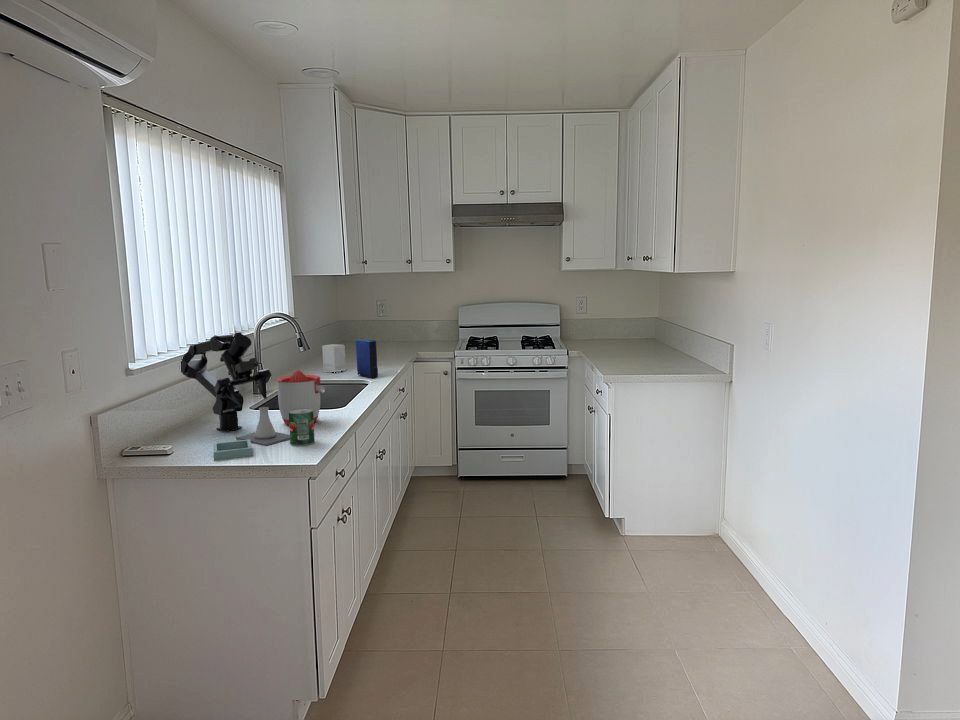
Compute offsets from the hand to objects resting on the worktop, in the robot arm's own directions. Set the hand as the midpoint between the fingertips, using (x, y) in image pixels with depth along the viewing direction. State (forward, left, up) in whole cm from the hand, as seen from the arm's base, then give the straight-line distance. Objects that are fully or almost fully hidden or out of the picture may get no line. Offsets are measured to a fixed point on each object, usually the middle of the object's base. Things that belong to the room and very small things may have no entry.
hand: (253, 401), depth 220 cm
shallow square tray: (+11, -17, -12) cm, 23 cm away
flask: (+5, 0, -12) cm, 13 cm away
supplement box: (-80, +111, -12) cm, 138 cm away
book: (-52, +108, -12) cm, 121 cm away
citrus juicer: (-2, +22, -12) cm, 26 cm away
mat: (+5, 0, -12) cm, 13 cm away
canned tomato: (+20, +3, -12) cm, 24 cm away
